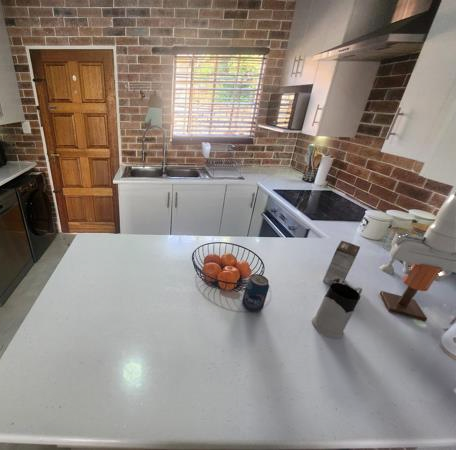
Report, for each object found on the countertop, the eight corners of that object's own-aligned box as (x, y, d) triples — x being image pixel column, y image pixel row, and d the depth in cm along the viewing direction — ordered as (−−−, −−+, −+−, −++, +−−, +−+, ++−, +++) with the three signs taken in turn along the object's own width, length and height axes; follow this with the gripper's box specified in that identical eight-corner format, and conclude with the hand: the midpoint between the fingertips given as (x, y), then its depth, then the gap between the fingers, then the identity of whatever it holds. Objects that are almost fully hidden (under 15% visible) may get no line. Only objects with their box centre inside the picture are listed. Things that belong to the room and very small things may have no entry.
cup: (422, 282, 86) (436, 260, 82) (431, 293, 81) (447, 271, 77) (399, 276, 88) (412, 255, 84) (406, 287, 83) (420, 265, 79)
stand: (412, 302, 91) (435, 268, 84) (425, 321, 83) (451, 285, 76) (379, 293, 95) (398, 260, 88) (388, 311, 87) (410, 276, 80)
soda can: (240, 310, 85) (247, 283, 79) (241, 297, 91) (248, 270, 85) (262, 316, 83) (271, 288, 77) (262, 302, 89) (270, 275, 83)
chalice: (401, 275, 106) (423, 239, 98) (385, 274, 106) (406, 238, 98) (387, 265, 113) (407, 230, 105) (372, 264, 113) (391, 230, 104)
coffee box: (327, 272, 106) (341, 239, 99) (345, 279, 102) (361, 246, 95) (321, 281, 101) (336, 247, 93) (340, 289, 97) (356, 255, 89)
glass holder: (305, 320, 82) (321, 285, 75) (333, 309, 87) (350, 275, 80) (331, 342, 75) (350, 305, 68) (360, 328, 80) (380, 292, 73)
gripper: (405, 237, 78) (385, 272, 84) (496, 254, 71) (466, 291, 77) (397, 229, 83) (379, 262, 89) (481, 244, 76) (455, 279, 82)
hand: (420, 276), depth 83 cm, fingers closed on cup, 6 cm apart
